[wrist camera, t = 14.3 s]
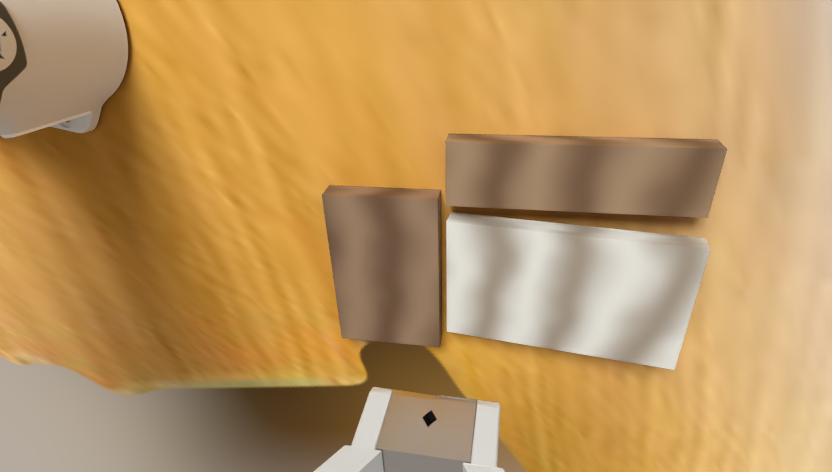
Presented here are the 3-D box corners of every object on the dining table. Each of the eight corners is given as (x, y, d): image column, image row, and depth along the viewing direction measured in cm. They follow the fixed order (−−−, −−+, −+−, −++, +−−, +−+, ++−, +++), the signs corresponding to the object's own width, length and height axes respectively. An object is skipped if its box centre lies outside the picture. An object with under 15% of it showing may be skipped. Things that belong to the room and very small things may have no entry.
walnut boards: (347, 325, 53) (341, 337, 51) (322, 130, 42) (313, 138, 40) (658, 352, 47) (664, 368, 46) (717, 139, 37) (727, 148, 35)
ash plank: (451, 319, 50) (446, 331, 48) (451, 211, 44) (446, 221, 42) (671, 355, 44) (674, 369, 43) (705, 238, 38) (710, 250, 37)
